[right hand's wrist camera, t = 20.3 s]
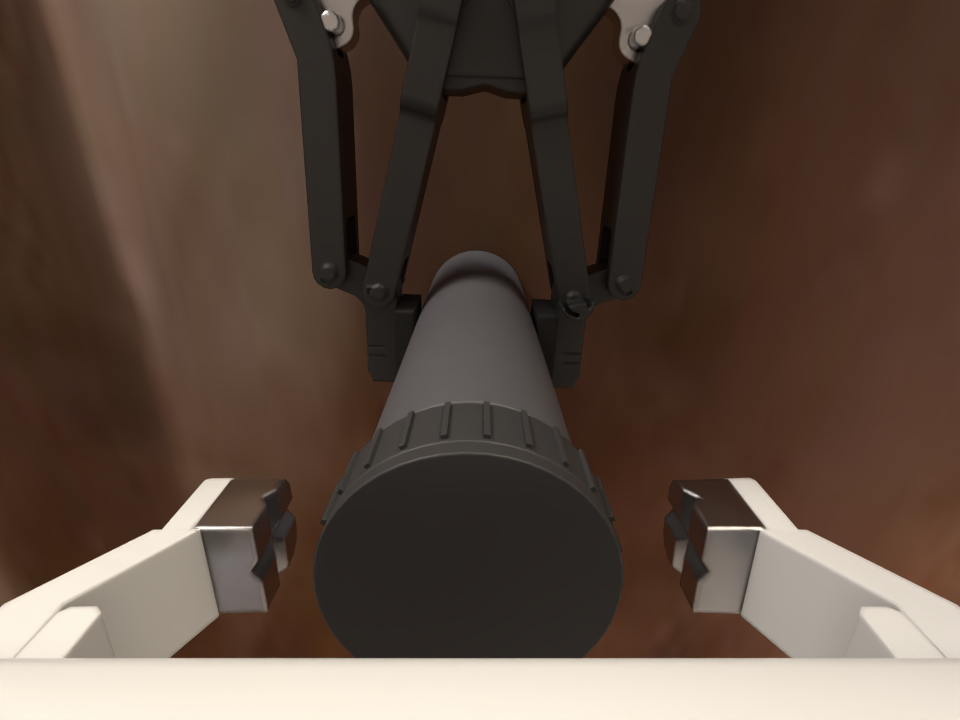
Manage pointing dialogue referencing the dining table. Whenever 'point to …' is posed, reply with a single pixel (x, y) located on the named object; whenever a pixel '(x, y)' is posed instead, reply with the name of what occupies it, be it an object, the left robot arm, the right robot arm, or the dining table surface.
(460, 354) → the dark grey cylinder
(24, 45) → the dining table surface
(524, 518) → the lid
